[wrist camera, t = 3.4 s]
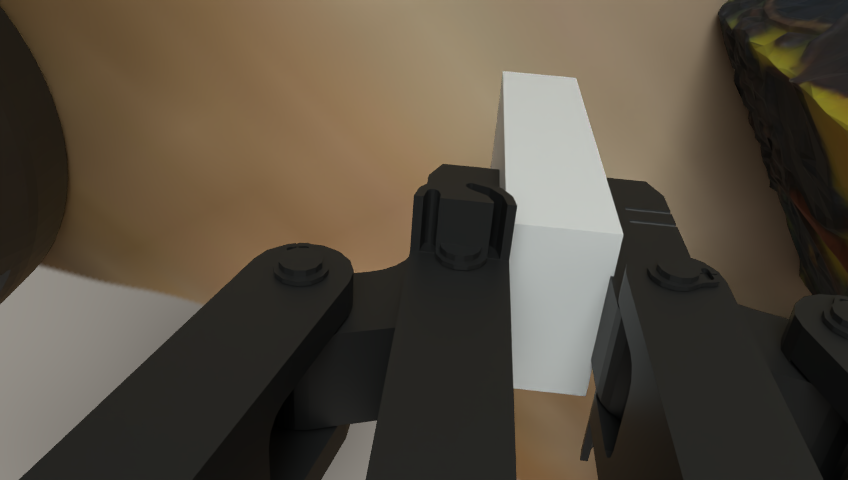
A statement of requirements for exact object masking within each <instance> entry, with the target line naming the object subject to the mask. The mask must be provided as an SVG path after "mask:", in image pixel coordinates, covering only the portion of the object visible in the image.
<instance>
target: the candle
mask: <svg viewBox="0 0 848 480" xmlns="http://www.w3.org/2000/svg"><path fill="white" fill-rule="evenodd" d="M718 15H719V19H720V23H721V28H722V32H723V37H724V43H725V46H726V49H727V52H728V55H729V58H730V61H731V64H732V67H733V68H734V69H735V75H734V82H735V85H736V87H737V89H738V91H739V94H740V96H741V98H742V101H743V104H744V106H745V107H746V108H747V109H748V110H749V118H748V119H749V123H750V125H751V126H752V128H753V129H754V132H755V138H756V139H757V140H758V142H759V143H760V145H761V153H762V157H763V162H764V164H765V166H766V169H767V173H768V177H769V179H770V188H772V189H774V190H775V191H777V192H778V196H779V199H780V203H781V205H782V207H783V210H784V212H785V214H786V217H787V225H788V228H789V231H790V233H791V236H792V239H793V241H794V244H795V247H796V249H797V252H798V254H799V257H800V277H801V279H802V281H803V282H804V284H805V285H806V287H807V288H808V289H809V291H810V292H811V293H812V294H813V295H817V294H824V295H841V296H846V297H848V0H728V1H727V2H726V3H725V4H724V5H723V6H722V7H721V9H720V11H719V12H718Z"/></svg>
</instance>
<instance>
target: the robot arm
mask: <svg viewBox="0 0 848 480" xmlns="http://www.w3.org/2000/svg"><path fill="white" fill-rule="evenodd" d="M67 179H68V171H67V157H66V150H65V143H64V137H63V133H62V129H61V124H60V121H59V117H58V114H57V111H56V108H55V104H54V102H53V99H52V96H51V94H50V91H49V89H48V86H47V84H46V82H45V80H44V77H43V75H42V73H41V71H40V69H39V67H38V65H37V63H36V61H35V59H34V57H33V55H32V54H31V52H30V50H29V48H28V47H27V45H26V43H25V42H24V40H23V38H22V37H21V35H20V33H19V32H18V30H17V29H16V28H15V26H14V25H13V23H12V22H11V20H10V19H9V17H8V16H7V14H6V13H5V12H4V11H3V9H2V8H1V7H0V304H1V303H2V302H3V301H4V300H5V299H6V298H7V297H8V296H9V295H10V294H11V293H12V292H13V291H14V290H15V289H16V288H17V287H18V286H19V285H20V284H21V283H22V282H23V281H24V280H25V279H26V278H27V277H28V276H29V275H30V274H31V273H32V272H33V271H34V270H35V269H36V267H37V266H38V265H39V264H40V263H41V262H42V260H43V259H44V257H45V256H46V254H47V253H48V251H49V249H50V248H51V246H52V244H53V242H54V240H55V238H56V235H57V233H58V230H59V228H60V225H61V221H62V218H63V214H64V209H65V204H66V196H67ZM592 368H593V374H594V380H595V386H596V391H595V395H594V400H593V404H592V408H591V412H590V416H589V420H588V424H587V428H586V433H585V437H584V441H583V445H582V449H581V456H580V460H583V461H588V458H589V454H590V450H591V448H593V447H594V454H595V460H596V467H597V474H598V480H848V297H846V296H841V295H824V294H817V295H811V296H806V297H803V298H802V299H801V300H799V301H798V302H797V303H796V304H795V306H794V308H793V311H792V313H791V316H790V318H789V319H786V318H782V317H779V316H775V315H772V314H768V313H765V312H761V311H758V310H754V309H751V308H748V307H745V306H742V305H739V304H737V302H736V300H735V298H734V296H733V294H732V292H731V290H730V288H729V286H728V284H727V282H726V281H725V280H724V278H723V277H722V276H721V275H720V274H719V272H717V271H716V270H714V269H713V268H711V267H710V266H708V265H707V264H705V263H703V262H701V261H698V260H696V259H693V258H691V257H690V255H689V253H688V250H687V248H686V246H685V244H684V241H683V239H682V237H681V235H680V232H679V230H678V228H677V227H676V223H675V221H674V219H673V216H672V214H670V210H669V207H668V205H667V203H666V200H665V198H664V196H663V195H662V194H660V193H659V192H658V191H657V190H655V189H654V188H653V187H652V186H650V185H649V184H648V183H647V182H644V181H634V180H623V179H613V178H606V175H605V172H604V169H603V165H602V162H601V159H600V155H599V152H598V149H597V146H596V142H595V139H594V136H593V132H592V129H591V126H590V122H589V119H588V116H587V113H586V109H585V106H584V103H583V99H582V96H581V93H580V89H579V86H578V83H577V80H576V78H571V77H561V76H550V75H539V74H528V73H518V72H507V71H503V75H502V83H501V91H500V99H499V107H498V115H497V123H496V131H495V139H494V147H493V155H492V163H491V169H489V168H479V167H469V166H459V165H448V164H442V165H441V166H440V167H439V168H437V169H436V170H435V171H433V172H432V173H431V174H430V175H429V177H428V182H427V184H425V185H423V186H421V187H420V188H419V189H418V190H417V192H416V193H415V195H414V203H413V218H412V232H411V247H410V254H409V257H408V258H407V259H406V260H405V261H403V262H401V263H399V264H398V265H396V266H393V267H390V268H387V269H384V270H378V271H371V272H362V273H354V271H353V268H352V265H351V262H350V260H349V259H348V258H346V257H345V256H344V255H343V254H342V253H340V252H339V251H336V250H334V249H331V248H328V247H325V246H322V245H314V244H309V243H298V244H296V243H293V244H287V245H283V246H279V247H276V248H273V249H269V250H267V251H265V252H263V253H262V254H260V255H259V256H257V257H256V258H254V259H253V260H252V261H251V262H250V263H249V264H248V265H247V266H246V267H244V268H243V269H242V270H241V271H240V272H239V273H238V274H237V275H236V276H235V277H234V278H233V279H232V280H231V281H230V282H229V283H227V284H226V285H225V286H224V287H223V288H222V289H221V290H220V291H219V292H218V293H217V294H216V295H215V296H214V297H213V298H212V299H210V300H209V301H208V302H207V303H206V304H205V305H204V306H203V307H202V308H201V309H200V310H199V311H198V312H197V313H196V314H195V315H193V317H191V318H190V319H189V320H188V321H187V322H186V323H185V324H184V325H183V326H182V327H181V328H180V329H179V330H178V331H176V332H175V333H174V334H173V335H172V336H171V337H170V338H169V339H168V340H167V341H166V342H165V343H164V344H163V345H162V346H161V347H160V348H158V349H157V350H156V351H155V352H154V353H153V354H152V355H151V356H150V357H149V358H148V359H147V360H146V361H145V362H144V363H143V364H141V366H139V367H138V368H137V369H136V370H135V371H134V372H133V373H132V374H131V375H130V376H129V377H128V378H127V379H126V380H124V381H123V382H122V383H121V385H119V386H118V387H117V388H116V389H115V390H114V391H113V392H112V393H111V394H110V395H108V396H107V397H106V398H105V399H104V400H103V401H102V402H101V403H100V404H99V405H98V406H97V407H96V408H95V409H94V410H93V411H91V412H90V414H88V415H87V416H86V417H85V418H84V419H83V420H82V421H81V422H80V423H79V424H78V425H77V426H76V427H75V428H73V429H72V430H71V431H70V432H69V433H68V434H67V435H66V436H65V437H64V438H63V439H62V440H61V441H60V442H59V443H58V444H56V445H55V446H54V447H53V448H52V449H51V450H50V451H49V452H48V453H47V454H46V455H45V456H44V457H43V458H42V459H40V460H39V461H38V462H37V463H36V464H35V465H34V466H33V467H32V468H31V469H30V470H29V471H28V472H27V473H26V474H25V475H23V477H21V478H20V479H19V480H321V479H322V477H323V476H324V474H325V472H326V471H327V469H328V467H329V466H330V464H331V462H332V460H333V459H334V457H335V455H336V454H337V452H338V450H339V448H340V447H341V445H342V444H343V442H344V440H345V439H346V436H347V433H348V429H349V426H350V424H353V423H361V422H368V421H375V420H377V424H376V429H375V435H374V440H373V445H372V450H371V455H370V460H369V466H368V471H367V476H366V480H516V453H515V423H514V392H513V388H515V389H524V390H534V391H543V392H552V393H561V394H570V395H579V396H586V392H587V388H588V384H589V380H590V375H591V371H592Z"/></svg>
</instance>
